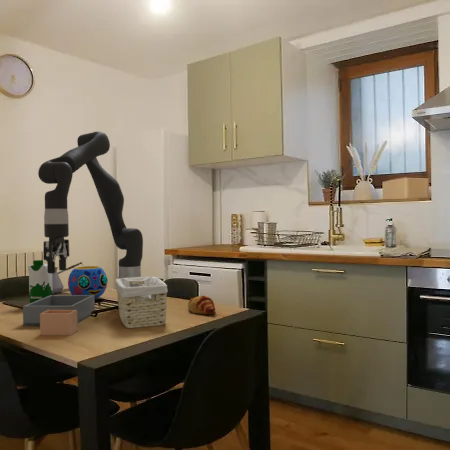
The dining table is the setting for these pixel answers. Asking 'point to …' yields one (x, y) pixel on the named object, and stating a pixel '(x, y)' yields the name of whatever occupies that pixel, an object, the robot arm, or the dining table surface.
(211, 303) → the croissant
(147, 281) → the storage basket
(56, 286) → the coffee pot
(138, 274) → the robot arm
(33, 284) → the milk carton
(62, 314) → the small crate
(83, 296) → the big crate
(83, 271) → the ceramic pot
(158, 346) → the dining table surface
